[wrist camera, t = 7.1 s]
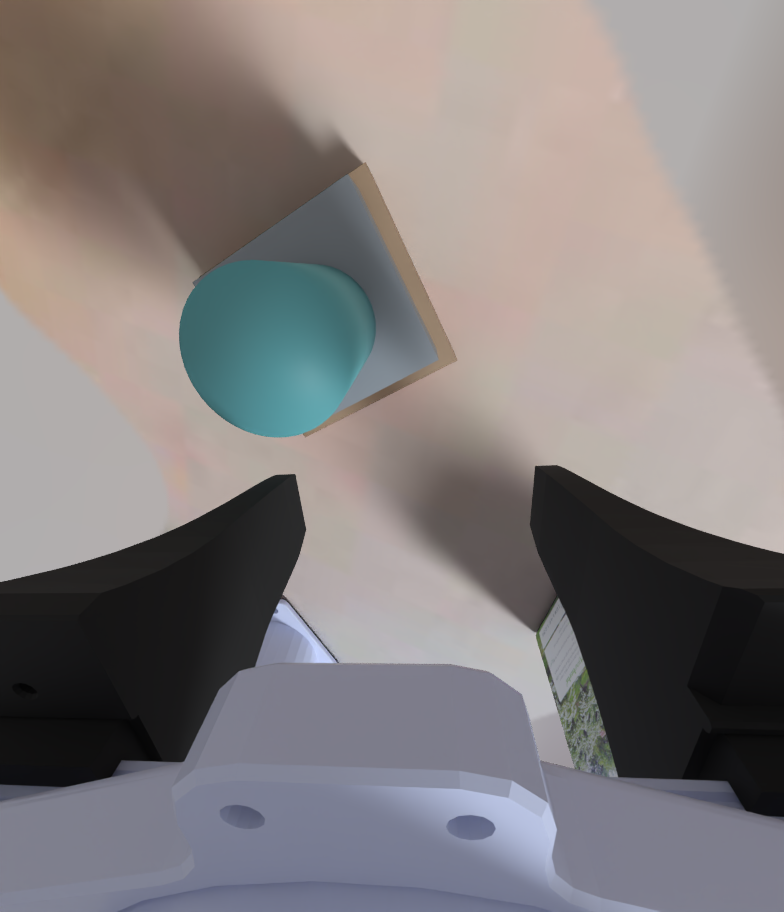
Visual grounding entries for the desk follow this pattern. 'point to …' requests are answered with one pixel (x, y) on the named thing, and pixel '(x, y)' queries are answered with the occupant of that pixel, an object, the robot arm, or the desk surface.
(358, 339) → the teal capsule
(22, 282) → the desk surface
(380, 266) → the grey slab
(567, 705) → the syrup box
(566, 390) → the desk surface
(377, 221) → the walnut slab
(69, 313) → the desk surface
